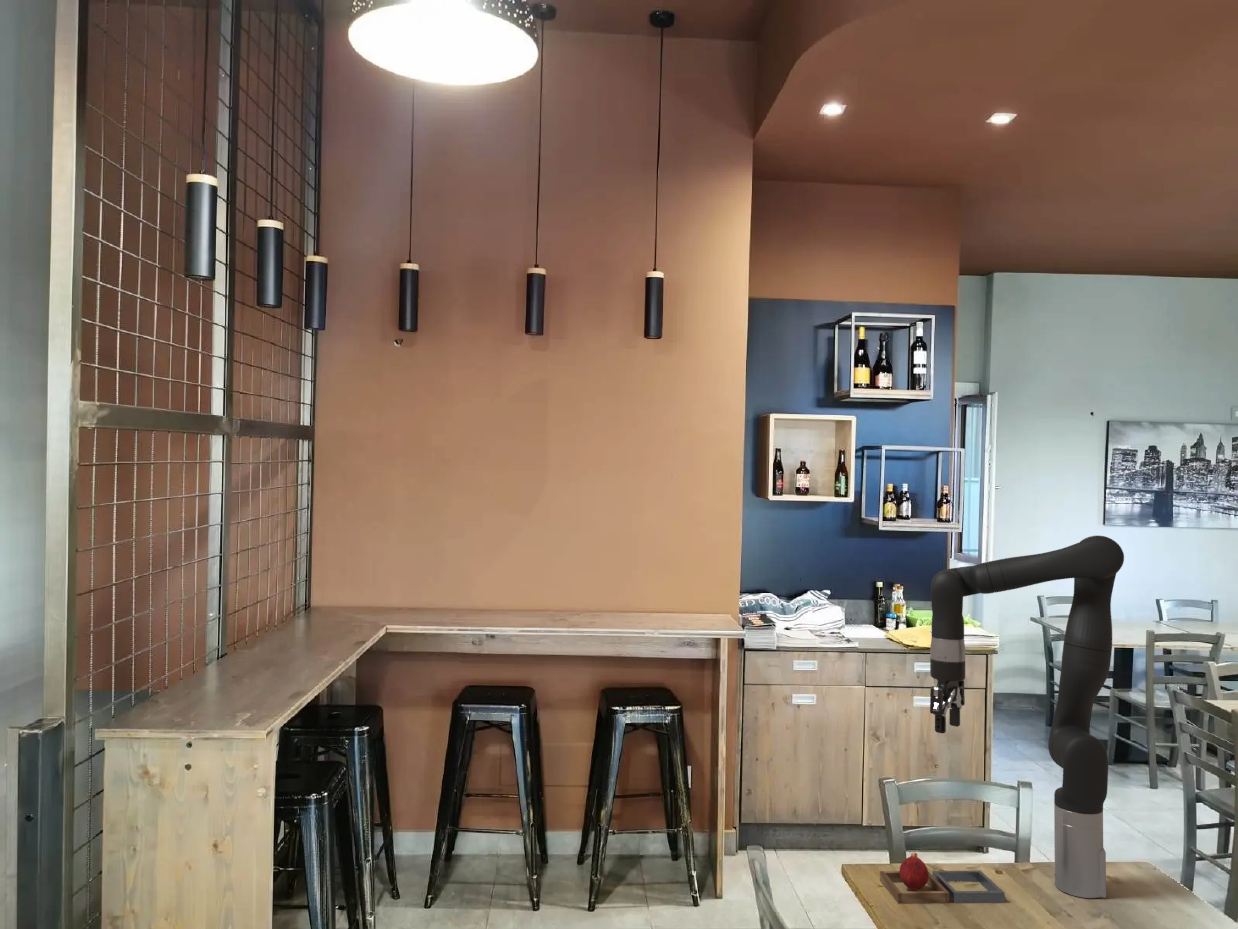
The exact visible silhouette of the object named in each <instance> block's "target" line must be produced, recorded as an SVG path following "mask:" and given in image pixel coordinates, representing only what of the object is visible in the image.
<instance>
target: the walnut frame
mask: <svg viewBox="0 0 1238 929" xmlns="http://www.w3.org/2000/svg"><path fill="white" fill-rule="evenodd" d="M899 871H900V870H887V871H886V870H885V871H884V870H880V871H879V882H880V883H881V884H882V885H883V887H884V888H885V889H886V890H887V892H888V893H889V894H890V895H891V896H892V898H893V899H894V900H895V902H897V904H950V898H949V892H948V891H947V890H946V889H945V888H944V887H943V886H942V885H941V884H940V883H939V882H938V881H937V880H936V879H935V878H934V877H933V873H932V872H930V871H929V870H928V873H929V878H928V882H927V883H928V884H927V883H926V884H927V885H928V886H929V887H930V886H931V887H930V888H931V889H932V891H931V890H930V891H925V890H924V891H923V890H922V891H921V890H917V891H911V890H910V891H909V890H908V891H901V890H900V889H899V888H898V886H897V885H896V884H895V883H903V882H902V880H901V878H900V873H899Z"/></svg>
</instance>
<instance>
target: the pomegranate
mask: <svg viewBox="0 0 1238 929" xmlns="http://www.w3.org/2000/svg"><path fill="white" fill-rule="evenodd" d="M898 871H899V873H900V878H901V880H902V882H901V883H902V884H904V886H905V887H906V888H907V889H909V890H910V891H920V890H922V888H924V887H925V886H926V885H927V882H928V878H929V873H928V871H929V870H928V868H927V865H926V864H925V863H924V861H923V860H922V859H921V858H919V857H918V853H917V852H915V851H913V852H911V854H910V856H908V857H907V858H905V859H904V860H903V861H902V863H901V864H900V866H899V870H898Z"/></svg>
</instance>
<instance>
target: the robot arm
mask: <svg viewBox="0 0 1238 929" xmlns="http://www.w3.org/2000/svg"><path fill="white" fill-rule="evenodd" d="M1124 562H1125V554H1124V551H1123V548H1122V547H1121V546H1120V545H1119V543H1117V542H1116V541H1115V539H1113V538H1110V537H1107V536H1104V535H1092V536H1088V537H1085V538H1083V539H1082V540H1080V541H1079V542H1076V543H1075V544H1071V545H1069V546H1065V547H1063V548H1059V549H1056V550H1055V549H1054V550H1051V551H1048V552H1047V551H1046V552H1042V553H1036V554H1034V553H1033V554H1027V555H1019V556H1013V557H1012V556H1011V557H1007V558H1006V557H1005V558H1000V559H996V560H990V561H986V562H985V561H984V562H981V563H978V564H975V565H968V566H959V567H953V568H945V569H943V570H940V571H939V572H937V573H936V574H935V575H934V576H933V577H932V579H931V581H930V601H931V603H930V604H931V613H932V616H931V640H930V649H929V651H930V657H929V658H930V660H929V661H930V663H929V667H930V669H929V671H930V672H929V673H930V674H929V676H930V677H931V678H932V679H935V680H936V681H937V683H936V686H933V685H932V686H931V687H930V691H929V692H930V693H929V694H930V698H929V699H930V701H929V714H932V715H934V731H935V733H939V734H945V733H946V732H947V731H946V730H947V729H946V728H947V722H946V720H947V712H948V709H949V726H951V727H952V726H953V727H956V728H957V727H959V726H960V725H961V710H962V709H963V708H962V707H963V706H965V703H966V702H965V701H966V700H965V697H966V696H965V681H964V680H966V644H965V643H966V642H965V621H964V616H963V606H964V597H969V596H973V595H977V594H982V595H988V594H994V593H995V594H996V593H1000V592H1005V591H1011V590H1015V589H1016V590H1017V589H1021V588H1025V587H1028V586H1029V587H1031V586H1034V585H1038V584H1043V583H1046V582H1047V583H1048V582H1053V581H1058V580H1067V579H1068V580H1069V579H1073V595H1072V596H1073V597H1072V602H1071V606H1070V609H1069V614H1068V618H1067V622H1066V627H1065V632H1064V639H1063V646H1062V653H1061V654H1062V655H1061V665H1060V666H1061V668H1060V675H1059V676H1060V677H1059V683H1058V693H1057V701H1056V707H1055V710H1054V716H1053V720H1052V724H1051V728H1050V733H1049V737H1048V742H1047V743H1048V744H1047V745H1048V752H1049V753H1048V754H1049V756H1050V758H1051V759H1052V761H1053V762H1054V763H1055V764H1056V765H1057V766H1058V767H1059V768H1061V769H1062V785H1061V787H1058V788H1056V789H1055V790H1054V794H1053V795H1054V797H1053V800H1054V802H1053V803H1054V805H1053V806H1054V808H1053V810H1054V817H1053V818H1054V825H1053V826H1054V829H1053V830H1054V835H1053V836H1054V837H1053V838H1054V875H1053V876H1054V885H1055V887H1056V888H1057V889H1058V890H1060V891H1062V892H1064V893H1066V894H1068V895H1071V896H1074V897H1078V898H1084V899H1096V898H1104V899H1106V898H1107V863H1106V862H1107V856H1106V855H1107V853H1106V852H1107V851H1106V850H1105V847H1104V803H1105V801H1106V798H1107V796H1108V782H1109V757H1108V752H1107V749H1106V746H1105V745H1104V744H1103V742H1102V741H1101V740H1100V739H1098V737H1096V736H1093V735H1091V734H1090V724H1091V715H1092V713H1091V712H1092V710H1093V705H1094V702H1095V701H1096V698H1097V697H1098V695H1099V693H1100V691H1101V690H1102V688H1103V686H1104V685H1105V683H1106V682H1107V679H1108V676H1109V673H1110V669H1111V662H1112V661H1111V660H1112V652H1113V623H1112V622H1113V619H1112V608H1111V607H1112V596H1113V591H1114V584H1115V580H1116V576H1117V573H1118V572H1119V571H1120V570H1121V569H1122V567H1123V566H1124Z"/></svg>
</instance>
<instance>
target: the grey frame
mask: <svg viewBox="0 0 1238 929" xmlns="http://www.w3.org/2000/svg"><path fill="white" fill-rule="evenodd" d="M932 876H933V877H934V878H935V879H936V880H937V881H938V882H939V883H940V884H941V885H942V886H943V887H944V888H945V889H946V890H947V891H948V892H949V900H951V901H952V903H953V904H962V903H963V904H970V903H971V904H972V903H975V904H976V903H980V904H981V903H982V904H984V903H985V904H987V903H992V904H993V903H1001V904H1002V903H1005V902H1006V901H1005V895H1006V894H1005V892H1004V891H1003V889H1001V887H999V886H998V885H997V884H996V883H994V882H993V880H992V879H991V878H989V877H988V876H987V875H986V874H985V873H984V872H983V871H981V870H932ZM947 881H959V882H960V881H962V883H964V882H972V883H973V882H976V883H980V885H981V886H982V887H984V888H985V889H986V890H956V889H955V888H954V887H953V886H952V885H951V884H950V882H947ZM959 882H958V883H959ZM960 883H961V882H960Z"/></svg>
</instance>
